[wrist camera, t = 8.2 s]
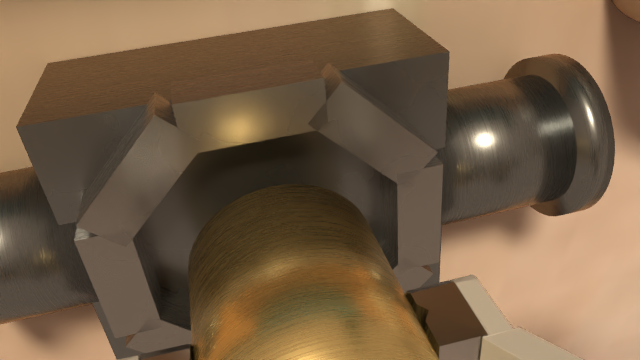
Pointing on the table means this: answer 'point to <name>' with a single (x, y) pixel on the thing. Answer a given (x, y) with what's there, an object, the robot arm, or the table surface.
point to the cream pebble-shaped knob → (629, 8)
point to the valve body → (275, 158)
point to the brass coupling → (297, 283)
